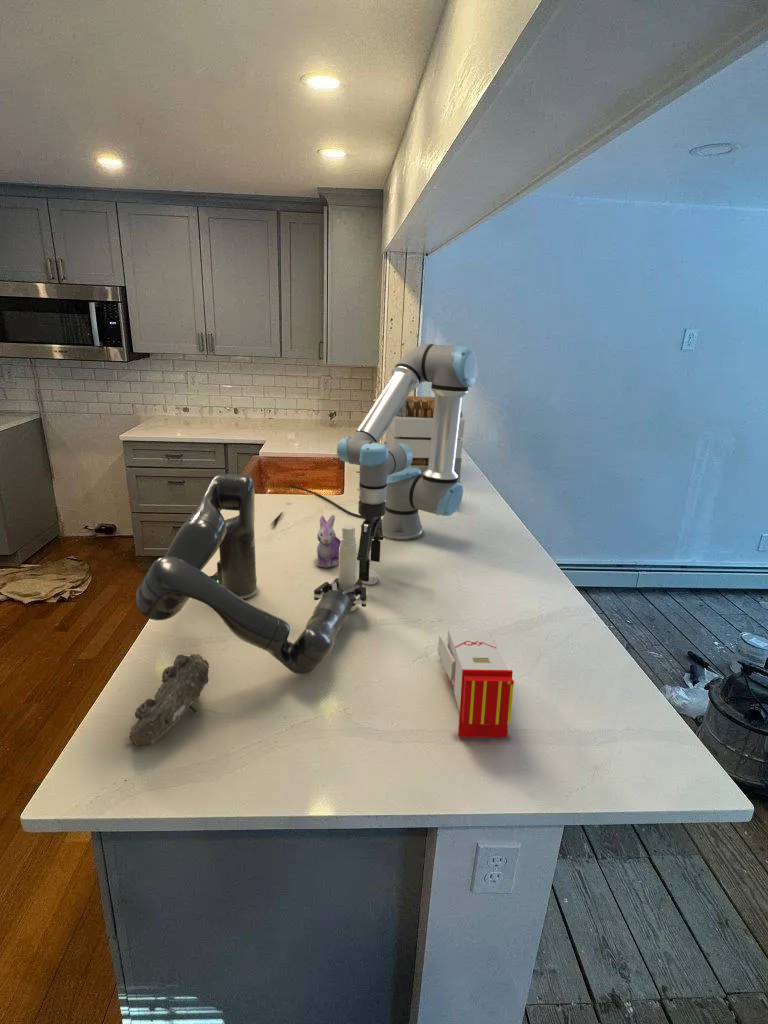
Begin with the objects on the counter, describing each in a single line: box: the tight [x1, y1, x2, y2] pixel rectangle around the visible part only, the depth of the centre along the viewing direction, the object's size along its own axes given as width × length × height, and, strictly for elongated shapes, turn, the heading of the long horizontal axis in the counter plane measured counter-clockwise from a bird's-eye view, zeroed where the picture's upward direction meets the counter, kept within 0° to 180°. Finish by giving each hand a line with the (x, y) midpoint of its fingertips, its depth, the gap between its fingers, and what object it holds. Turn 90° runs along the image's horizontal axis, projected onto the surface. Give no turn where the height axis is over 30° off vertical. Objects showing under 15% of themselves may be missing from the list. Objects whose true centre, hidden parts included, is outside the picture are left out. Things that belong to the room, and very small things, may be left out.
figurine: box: [316, 514, 341, 568], centre depth 173 cm, size 9×10×15 cm
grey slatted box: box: [383, 395, 465, 483], centre depth 268 cm, size 34×33×41 cm
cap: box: [362, 570, 378, 586], centre depth 164 cm, size 4×4×2 cm
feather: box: [270, 512, 283, 529], centre depth 212 cm, size 2×28×2 cm
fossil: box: [128, 653, 210, 746], centre depth 108 cm, size 22×10×15 cm
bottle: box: [337, 524, 358, 613], centre depth 146 cm, size 5×5×23 cm
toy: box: [437, 628, 515, 738], centre depth 117 cm, size 12×13×30 cm
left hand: (350, 581), depth 150 cm, fingers closed on bottle, 4 cm apart
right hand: (369, 570), depth 163 cm, fingers open, 13 cm apart
